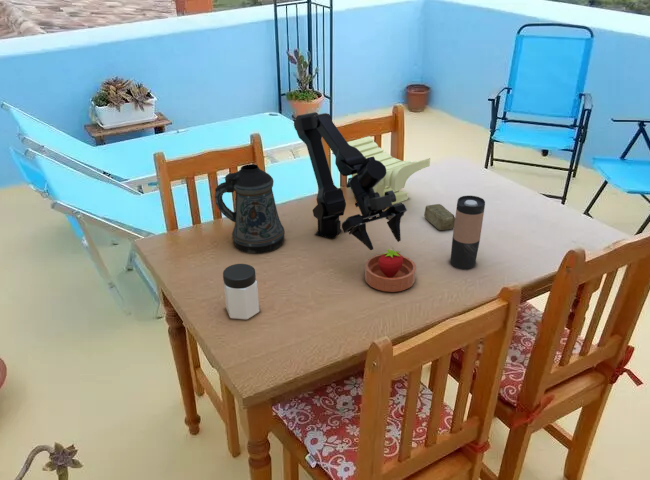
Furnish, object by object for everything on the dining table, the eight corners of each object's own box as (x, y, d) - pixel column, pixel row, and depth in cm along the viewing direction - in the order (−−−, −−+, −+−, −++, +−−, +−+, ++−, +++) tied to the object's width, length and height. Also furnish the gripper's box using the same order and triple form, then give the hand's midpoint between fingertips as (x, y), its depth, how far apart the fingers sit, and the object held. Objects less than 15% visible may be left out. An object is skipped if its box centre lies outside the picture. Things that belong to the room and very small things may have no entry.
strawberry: (372, 277, 165) (374, 246, 160) (393, 269, 168) (395, 239, 163) (385, 286, 161) (387, 255, 155) (406, 278, 164) (409, 247, 159)
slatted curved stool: (336, 191, 217) (336, 145, 208) (368, 181, 226) (369, 136, 216) (393, 219, 197) (396, 169, 188) (425, 206, 205) (430, 157, 196)
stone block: (439, 232, 189) (441, 218, 186) (422, 218, 198) (423, 204, 195) (455, 229, 190) (457, 215, 188) (437, 215, 199) (439, 201, 197)
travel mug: (477, 258, 174) (486, 197, 163) (474, 271, 168) (484, 208, 157) (451, 255, 176) (459, 193, 165) (447, 267, 170) (455, 204, 159)
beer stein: (295, 242, 184) (292, 167, 171) (243, 263, 174) (236, 184, 161) (265, 224, 195) (260, 152, 182) (214, 242, 185) (205, 168, 172)
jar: (244, 297, 158) (240, 259, 152) (265, 308, 154) (263, 269, 147) (219, 312, 152) (214, 273, 146) (241, 324, 148) (237, 284, 142)
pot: (356, 286, 162) (357, 271, 160) (375, 263, 173) (376, 249, 170) (404, 298, 157) (405, 283, 154) (421, 273, 167) (422, 259, 165)
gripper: (347, 189, 153) (370, 244, 150) (405, 175, 160) (427, 227, 158) (332, 206, 163) (353, 257, 160) (386, 192, 170) (407, 241, 168)
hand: (385, 245), depth 162 cm, fingers open, 9 cm apart
